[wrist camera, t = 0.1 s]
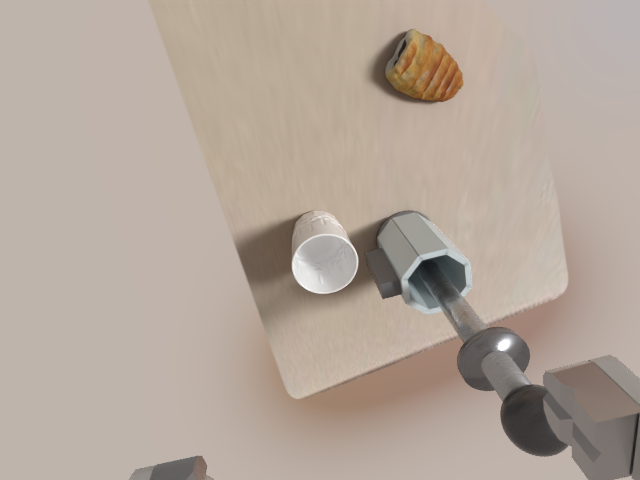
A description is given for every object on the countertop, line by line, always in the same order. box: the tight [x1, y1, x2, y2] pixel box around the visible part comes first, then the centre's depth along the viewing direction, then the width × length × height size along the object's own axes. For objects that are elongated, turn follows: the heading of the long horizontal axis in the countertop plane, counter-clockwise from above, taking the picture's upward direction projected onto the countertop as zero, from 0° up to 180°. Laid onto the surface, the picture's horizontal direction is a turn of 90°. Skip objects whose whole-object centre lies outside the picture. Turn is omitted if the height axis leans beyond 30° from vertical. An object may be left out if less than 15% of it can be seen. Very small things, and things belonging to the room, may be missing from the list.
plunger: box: [418, 261, 568, 456], centre depth 41 cm, size 6×6×26 cm
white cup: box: [292, 210, 358, 294], centre depth 56 cm, size 8×8×10 cm
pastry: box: [385, 29, 463, 102], centre depth 52 cm, size 9×7×4 cm
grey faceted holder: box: [365, 211, 472, 315], centre depth 56 cm, size 8×11×13 cm
